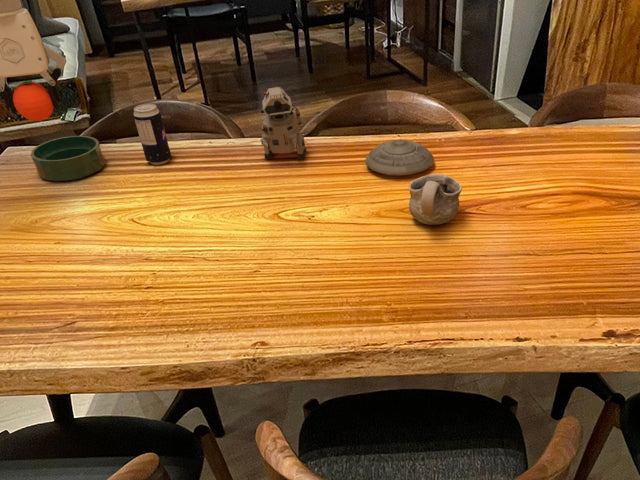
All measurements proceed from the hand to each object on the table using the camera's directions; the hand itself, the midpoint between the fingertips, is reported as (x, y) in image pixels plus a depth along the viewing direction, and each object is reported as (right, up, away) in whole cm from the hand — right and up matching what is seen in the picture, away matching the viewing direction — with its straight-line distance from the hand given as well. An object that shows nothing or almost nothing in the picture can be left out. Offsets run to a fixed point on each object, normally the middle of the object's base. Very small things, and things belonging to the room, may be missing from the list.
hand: (36, 107), depth 121 cm
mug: (+77, -24, -4) cm, 81 cm away
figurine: (+45, -3, +20) cm, 50 cm away
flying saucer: (+71, -6, +16) cm, 73 cm away
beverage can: (+16, -3, +22) cm, 28 cm away
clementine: (0, -2, +2) cm, 2 cm away
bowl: (-3, -5, +20) cm, 21 cm away
